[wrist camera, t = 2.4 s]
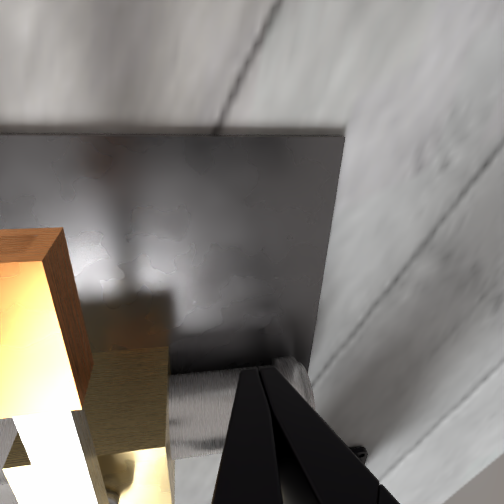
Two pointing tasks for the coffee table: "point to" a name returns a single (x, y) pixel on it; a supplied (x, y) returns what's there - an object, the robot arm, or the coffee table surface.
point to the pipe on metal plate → (175, 282)
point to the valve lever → (47, 364)
